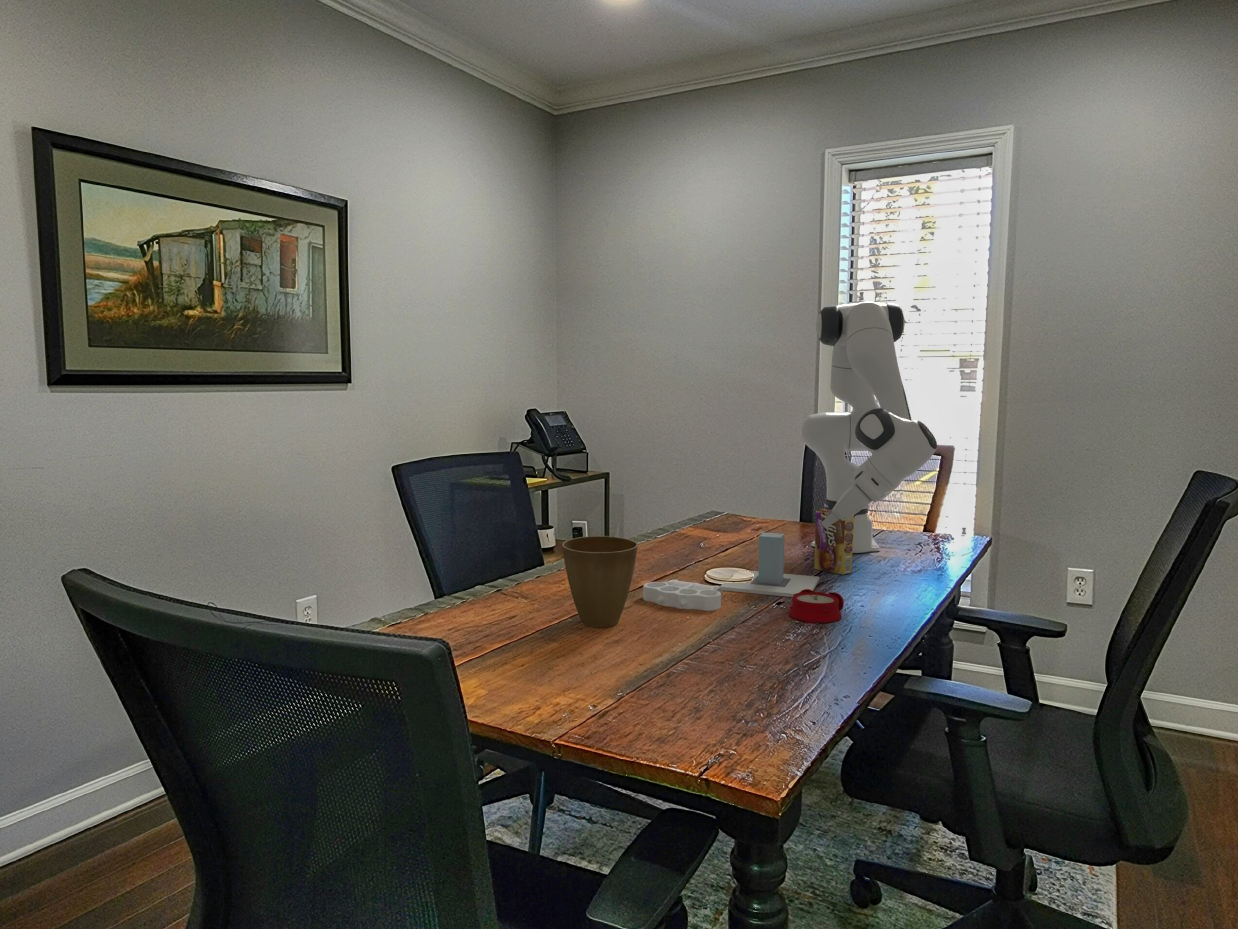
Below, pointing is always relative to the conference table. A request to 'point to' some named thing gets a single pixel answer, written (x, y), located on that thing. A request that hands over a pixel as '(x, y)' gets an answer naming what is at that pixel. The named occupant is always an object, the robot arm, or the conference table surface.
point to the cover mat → (774, 585)
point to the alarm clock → (816, 606)
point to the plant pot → (599, 576)
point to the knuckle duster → (683, 595)
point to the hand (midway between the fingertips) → (826, 521)
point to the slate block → (771, 558)
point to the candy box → (833, 544)
